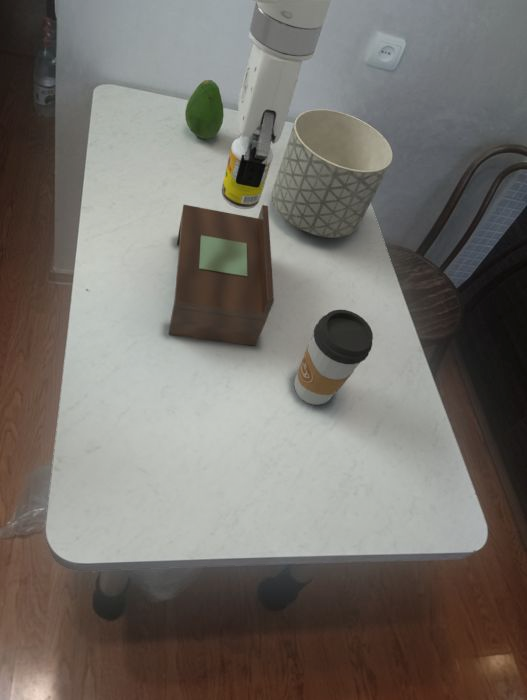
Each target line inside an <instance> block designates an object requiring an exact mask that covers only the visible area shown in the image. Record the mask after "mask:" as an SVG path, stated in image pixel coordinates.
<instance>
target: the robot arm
mask: <svg viewBox="0 0 527 700" xmlns="http://www.w3.org/2000/svg"><path fill="white" fill-rule="evenodd" d="M253 1H254V2H255V4H254V8H253V12H252V17H251V21H250V27H249V30H248V38H249V39H250V41H251V43H253V44H252V47H251V50H250V54H249V57H248V61H247V66H246V69H245V73H244V76H243V81H242V84H241V88H240V91H239V96H238V101H237V121H238V122H237V123H238V124H237V126H238V128H237V129H238V133H239V136H238V138H239V137H240V135H241V136H242V137H244V136H245V137H248V141H247V146H246V150H245V155H242V157H241V161H240V165H239V168H238V172H237V176H236V183H237V184H240V185H245V186H250V187H255V188H258V187H259V186H260V183H261V180H262V177H263V173H264V170H265V167H266V163H267V158H268V154H269V150H270V148H271V145H272V144H273V145H274V144H276V143H278V142H279V140H280V139H281V135H282V133H283V130H284V127H285V125H286V124H285V123H286V121H287V117H288V115H289V111H290V107H291V104H292V101H293V98H294V97H293V96H294V94H295V90H296V86H297V83H298V80H299V75H300V72H301V67H302V63H303V62H305V61H308V60H310V59H312V58H313V56H314V54H315V51H316V48H317V44H318V42H319V38H320V35H321V32H322V29H323V26H324V23H325V19H326V17H327V15H328V14H327V13H328V11H329V7H330V4H331V1H332V0H253ZM256 130H260V133H259V134H255V133H254V132H255V131H256ZM253 140H255V141H258V144H257V146H256V147H253V148H252V144H253ZM251 148H252V149H251Z"/></svg>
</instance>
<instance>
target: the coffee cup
mask: <svg viewBox="0 0 527 700" xmlns="http://www.w3.org/2000/svg"><path fill="white" fill-rule="evenodd" d="M373 340H374V333H373V330H372V328H371V325H369V323H368V322H367V321H366V320H365V319H364V318H363V317H362V316H361V315H360V314H358V313H355V312H353V311H351V310H347V309H334V310H331V311H329V312H328V313H326V314H325V315H323V316H322V317H321V318H320V319H319V321H318V322H317V323H316V324H315V326H314V329H313V334H312V337H311V339H310V342H309V344H308V345H307V348H306V350H305V352H304V355H303V357H302V360H301V362H300V365H299V367H298V370H297V372H296V374H295V375H296V376H295V378H294V383H293V385H294V390H295V392H296V394H297V396H298V397H299V398H300V399H301V401H303V402H304V403H307V404H309V405H312V406H317V405H318V406H319V405H323V404H326V403H327V402H329V401H330V400H331V399H332V398H333V396H334V395H335V394H336V393H337V392H338V391H339V390H340V389H341V387H342V386H343V385H344V384H345V383H346V382H347V381H348V379H349V378H350V377H351V376H352V374H354V371H356V369H357V367H358V366H359V365H360V364H361V363H362V362H363V361H365V360H366V359H367V358H368V356H369V354H370V352H371V351H372V348H373Z"/></svg>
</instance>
